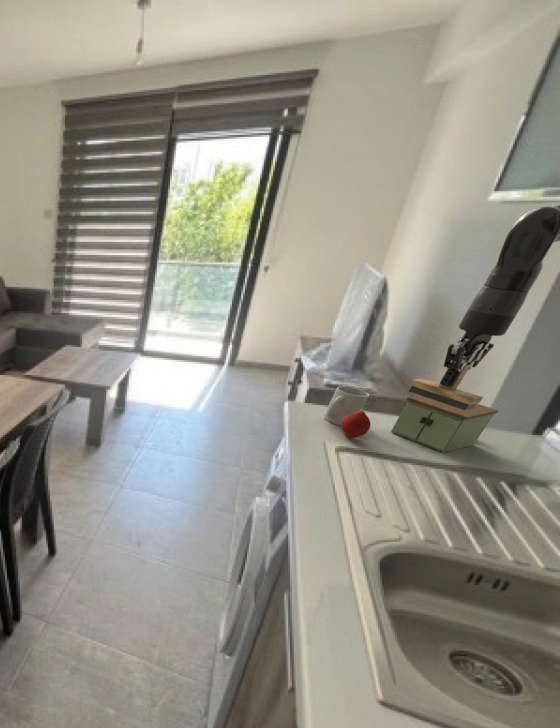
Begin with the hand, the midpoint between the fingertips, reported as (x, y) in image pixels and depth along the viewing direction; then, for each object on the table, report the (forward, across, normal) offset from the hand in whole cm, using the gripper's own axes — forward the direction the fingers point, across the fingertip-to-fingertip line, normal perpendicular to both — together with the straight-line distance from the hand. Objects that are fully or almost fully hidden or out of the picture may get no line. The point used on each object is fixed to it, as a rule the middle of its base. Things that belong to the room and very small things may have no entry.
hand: (448, 384), depth 112 cm
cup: (+17, -3, +17) cm, 24 cm away
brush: (+4, 0, 0) cm, 4 cm away
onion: (+17, -10, +9) cm, 22 cm away
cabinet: (+17, +13, +2) cm, 22 cm away
